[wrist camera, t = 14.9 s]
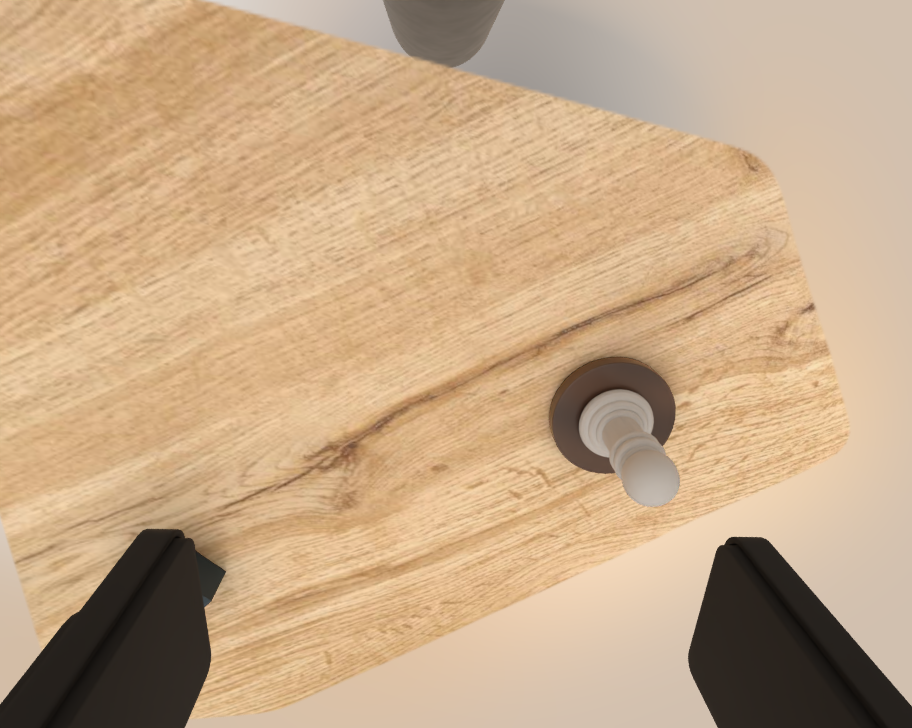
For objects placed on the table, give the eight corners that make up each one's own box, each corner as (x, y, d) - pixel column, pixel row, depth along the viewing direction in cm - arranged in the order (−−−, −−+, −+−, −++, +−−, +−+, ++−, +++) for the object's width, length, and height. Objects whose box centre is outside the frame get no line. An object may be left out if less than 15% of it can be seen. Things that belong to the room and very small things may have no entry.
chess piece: (582, 459, 40) (621, 539, 32) (572, 396, 38) (610, 463, 30) (653, 444, 40) (711, 520, 32) (646, 379, 38) (706, 443, 30)
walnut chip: (556, 354, 39) (560, 360, 37) (680, 358, 39) (687, 364, 38) (542, 464, 42) (545, 472, 41) (657, 466, 42) (663, 475, 41)
